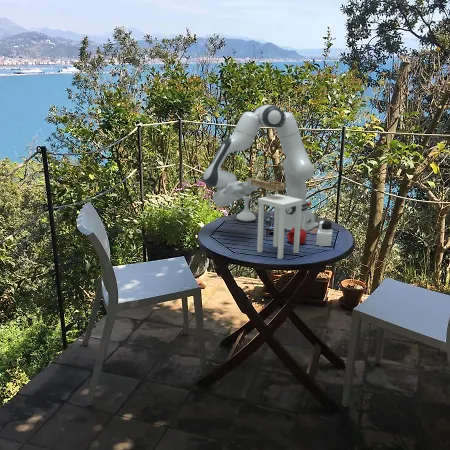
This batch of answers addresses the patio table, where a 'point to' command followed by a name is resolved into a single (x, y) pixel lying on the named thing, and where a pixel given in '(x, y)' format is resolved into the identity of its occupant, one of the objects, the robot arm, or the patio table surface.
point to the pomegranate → (291, 236)
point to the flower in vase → (246, 211)
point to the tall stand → (279, 221)
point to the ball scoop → (268, 184)
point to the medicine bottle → (324, 234)
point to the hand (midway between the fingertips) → (254, 181)
